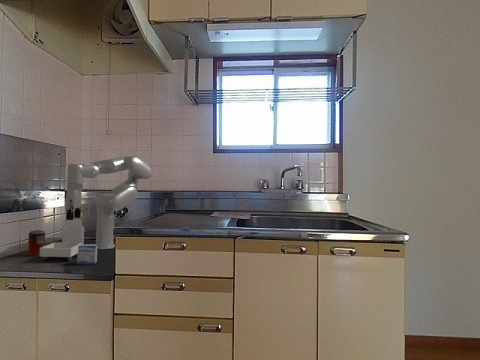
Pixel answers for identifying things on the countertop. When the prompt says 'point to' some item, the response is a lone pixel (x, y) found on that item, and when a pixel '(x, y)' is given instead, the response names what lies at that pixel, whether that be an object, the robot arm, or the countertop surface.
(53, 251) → the white storage bin
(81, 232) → the jar
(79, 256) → the medicine box
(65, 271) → the countertop surface
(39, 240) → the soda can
